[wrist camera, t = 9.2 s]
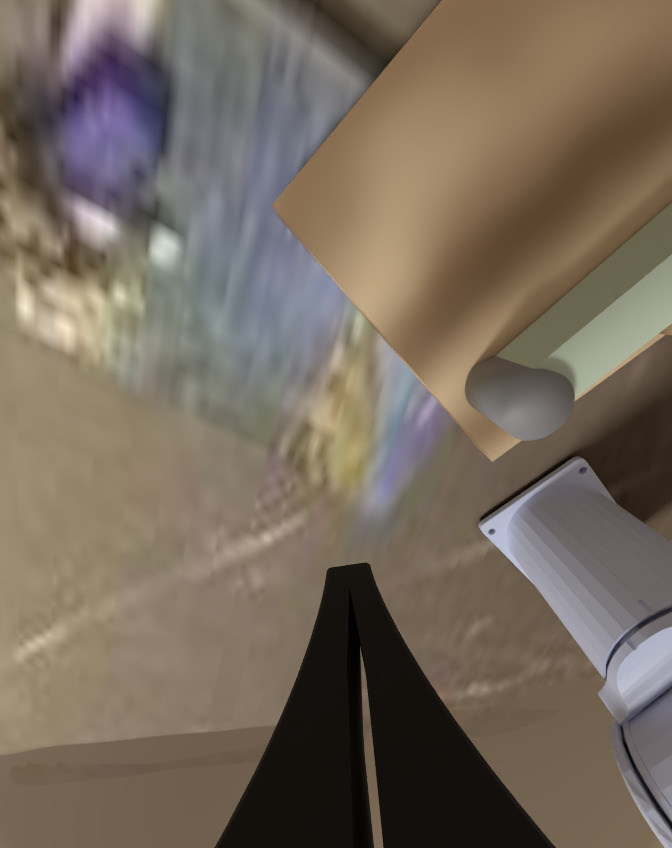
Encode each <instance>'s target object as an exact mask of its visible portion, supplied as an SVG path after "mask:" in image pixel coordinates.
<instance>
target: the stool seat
mask: <svg viewBox="0 0 672 848" xmlns="http://www.w3.org/2000/svg"><path fill="white" fill-rule="evenodd" d="M670 203H672V0H442V1H441V2H440V3H439V4H438V5H437V7H436V8H435V9H434V10H433V11H432V13H431V14H430V15H429V16H428V17H427V19H426V20H425V21H424V22H423V23H422V25H421V26H420V27H419V28H418V30H417V31H416V32H415V33H414V34H413V36H412V37H411V38H410V39H409V40H408V42H407V43H406V44H405V45H404V46H403V48H402V49H401V50H400V51H399V52H398V54H397V55H396V56H395V57H394V58H393V60H392V61H391V62H390V63H389V64H388V66H387V67H386V68H385V69H384V70H383V72H382V73H381V74H380V75H379V77H378V78H377V79H376V80H375V81H374V83H373V84H372V85H371V86H370V87H369V89H368V90H367V91H366V92H365V93H364V95H363V96H362V97H361V98H360V99H359V101H358V102H357V103H356V104H355V105H354V107H353V108H352V109H351V110H350V111H349V113H348V114H347V115H346V116H345V117H344V119H343V120H342V121H341V122H340V124H339V125H338V126H337V127H336V128H335V130H334V131H333V132H332V133H331V134H330V136H329V137H328V138H327V139H326V140H325V142H324V143H323V144H322V145H321V146H320V148H319V149H318V150H317V151H316V152H315V154H314V155H313V156H312V157H311V158H310V160H309V161H308V162H307V163H306V164H305V166H304V167H303V168H302V169H301V170H300V172H299V173H298V174H297V175H296V177H295V178H294V179H293V180H292V181H291V183H290V184H289V185H288V186H287V187H286V189H285V190H284V191H283V192H282V193H281V195H280V196H279V197H278V198H277V199H276V201H275V202H274V203H273V204H272V206H273V208H274V209H275V211H276V213H277V215H278V217H279V218H280V219H281V220H282V221H283V223H284V224H285V225H286V226H287V227H288V228H289V229H290V231H291V232H292V233H293V234H294V235H295V236H296V238H297V239H298V240H299V241H300V242H301V243H302V245H303V246H304V247H305V248H306V249H307V250H308V252H309V253H310V254H311V255H312V256H313V257H314V258H315V260H316V261H317V262H318V263H319V264H320V265H321V267H322V268H323V269H324V270H325V271H326V272H327V274H328V275H329V276H330V277H331V278H332V279H333V281H334V282H335V283H336V284H337V285H338V286H339V287H340V289H341V290H342V291H343V292H344V293H345V294H346V296H347V297H348V298H349V299H350V300H351V301H352V303H353V304H354V305H355V306H356V307H357V308H358V310H359V311H360V312H361V313H362V314H363V315H364V316H365V318H366V319H367V320H368V321H369V322H370V323H371V325H372V326H373V327H374V328H375V329H376V330H377V332H378V333H379V334H380V335H381V336H382V337H383V338H384V340H385V341H386V342H387V343H388V344H389V345H390V347H391V348H392V349H393V350H394V351H395V352H396V354H397V355H398V356H399V357H400V358H401V359H402V361H403V362H404V363H405V364H406V365H407V366H408V367H409V369H410V370H411V371H412V372H413V373H414V374H415V376H416V377H417V378H418V379H419V380H420V381H421V383H422V384H423V385H424V386H425V387H426V388H427V390H428V391H429V392H430V393H431V394H432V395H433V396H434V398H435V399H436V400H437V401H438V402H439V403H440V405H441V406H442V407H443V408H444V409H445V410H446V412H447V413H448V414H449V415H450V416H451V417H452V419H453V420H454V421H455V422H456V423H457V424H458V425H459V427H460V428H461V429H462V430H463V431H464V432H465V434H466V435H467V436H468V437H469V438H470V439H471V441H472V442H473V443H474V444H475V445H476V446H477V447H478V448H479V449H480V450H481V451H482V452H483V453H484V454H485V455H486V456H487V457H488V458H489V459H490V460H491V461H492V462H493V461H494V460H495V459H497V458H498V457H500V456H501V455H502V454H504V453H505V452H506V451H508V450H509V449H510V448H512V447H513V446H515V445H516V444H517V443H519V442H520V441H521V440H520V439H517V438H515V437H513V436H511V435H510V434H509V433H507V432H506V431H504V430H503V429H502V428H500V427H499V426H498V425H496V424H495V423H494V422H492V421H491V420H489V419H488V418H487V417H485V416H484V415H483V414H481V413H480V412H478V411H477V410H476V409H474V408H473V407H472V406H471V405H470V404H469V403H468V401H467V399H466V396H465V384H466V380H467V377H468V375H469V374H470V372H471V371H472V369H473V368H474V367H475V366H476V365H477V364H479V363H480V362H481V361H483V360H485V359H487V358H489V357H493V356H496V355H497V354H498V353H499V352H500V351H502V350H503V349H504V348H505V347H506V346H507V345H508V344H510V343H511V342H512V341H513V340H514V339H515V338H516V337H518V336H519V335H520V334H521V333H522V332H523V331H524V330H526V329H527V328H528V327H529V326H530V325H531V324H533V323H534V322H535V321H536V320H537V319H538V318H539V317H541V316H542V315H543V314H544V313H545V312H546V311H547V310H549V309H550V308H551V307H552V306H553V305H554V304H556V303H557V302H558V301H559V300H560V299H561V298H562V297H564V296H565V295H566V294H567V293H568V292H569V291H570V290H572V289H573V288H574V287H575V286H576V285H577V284H579V283H580V282H581V281H582V280H583V279H584V278H585V277H587V276H588V275H589V274H590V273H591V272H592V271H593V270H595V269H596V268H597V267H598V266H599V265H600V264H601V263H603V262H604V261H605V260H606V259H607V258H608V257H610V256H611V255H612V254H613V253H614V252H615V251H616V250H618V249H619V248H620V247H621V246H622V245H623V244H624V243H626V242H627V241H628V240H629V239H630V238H631V237H633V236H634V235H635V234H636V233H637V232H638V231H639V230H641V229H642V228H643V227H644V226H645V225H646V224H647V223H649V222H650V221H651V220H652V219H653V218H654V217H656V216H657V215H658V214H659V213H660V212H661V211H662V210H664V209H665V208H666V207H667V206H668V205H669V204H670ZM664 335H672V324H670V325H669V326H668V327H667V328H665V329H664V330H663V331H661V332H660V333H659V334H657V335H656V336H655V337H654V338H652V339H651V340H650V341H648V342H647V343H646V344H645V345H643V346H642V347H641V348H639V349H638V350H637V351H635V352H634V353H633V354H632V355H630V356H629V357H628V358H626V359H625V360H624V361H622V362H621V363H620V364H619V365H617V366H616V367H615V368H613V369H612V370H611V371H610V372H608V373H607V374H606V375H604V376H603V377H602V378H600V379H599V380H598V381H597V382H595V383H594V384H593V385H591V386H590V387H589V388H587V389H586V390H585V391H584V392H582V393H581V394H580V395H578V396H577V397H576V398H575V400H574V401H576V400H577V399H579V398H580V397H581V396H583V395H584V394H585V393H587V392H588V391H589V390H591V389H592V388H594V387H595V386H596V385H598V384H599V383H600V382H602V381H603V380H604V379H606V378H607V377H608V376H610V375H611V374H613V373H614V372H615V371H617V370H618V369H619V368H621V367H622V366H623V365H625V364H626V363H628V362H629V361H630V360H632V359H633V358H634V357H636V356H637V355H638V354H640V353H641V352H643V351H644V350H645V349H647V348H648V347H649V346H651V345H652V344H653V343H655V342H656V341H657V340H659V339H660V338H662V337H663V336H664Z"/></svg>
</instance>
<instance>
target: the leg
mask: <svg viewBox="0 0 672 848" xmlns="http://www.w3.org/2000/svg"><path fill="white" fill-rule="evenodd" d="M670 324H672V203H670V204H669V205H668V206H667V207H666V208H665V209H664V210H662V211H661V212H660V213H659V214H658V215H657V216H656V217H654V218H653V219H652V220H651V221H650V222H649V223H647V224H646V225H645V226H644V227H643V228H642V229H641V230H639V231H638V232H637V233H636V234H635V235H634V236H633V237H631V238H630V239H629V240H628V241H627V242H626V243H624V244H623V245H622V246H621V247H620V248H619V249H618V250H616V251H615V252H614V253H613V254H612V255H611V256H610V257H608V258H607V259H606V260H605V261H604V262H603V263H601V264H600V265H599V266H598V267H597V268H596V269H595V270H593V271H592V272H591V273H590V274H589V275H588V276H587V277H585V278H584V279H583V280H582V281H581V282H580V283H579V284H577V285H576V286H575V287H574V288H573V289H572V290H570V291H569V292H568V293H567V294H566V295H565V296H564V297H562V298H561V299H560V300H559V301H558V302H557V303H556V304H554V305H553V306H552V307H551V308H550V309H549V310H547V311H546V312H545V313H544V314H543V315H542V316H541V317H539V318H538V319H537V320H536V321H535V322H534V323H533V324H531V325H530V326H529V327H528V328H527V329H526V330H524V331H523V332H522V333H521V334H520V335H519V336H518V337H516V338H515V339H514V340H513V341H512V342H511V343H510V344H508V345H507V346H506V347H505V348H504V349H503V350H502V351H500V352H499V353H498V354H497V355H496V356H493V357H489V358H487V359H485V360H483V361H481V362H480V363H479V364H477V365H476V366H475V367H474V368H473V369H472V371H471V372H470V374H469V375H468V377H467V380H466V384H465V396H466V399H467V401H468V403H469V404H470V405H471V406H472V407H473V408H474V409H476V410H477V411H478V412H480V413H481V414H483V415H484V416H485V417H487V418H488V419H489V420H491V421H492V422H494V423H495V424H496V425H498V426H499V427H500V428H502V429H503V430H504V431H506V432H507V433H509V434H510V435H511V436H513V437H515V438H517V439H520V440H537V439H541V438H544V437H546V436H548V435H550V434H552V433H553V432H555V431H556V430H557V429H558V428H560V427H561V426H562V425H563V424H564V422H565V421H566V420H567V418H568V417H569V415H570V413H571V411H572V409H573V406H574V400H575V398H576V397H577V396H578V395H580V394H581V393H582V392H584V391H585V390H586V389H587V388H589V387H590V386H591V385H593V384H594V383H595V382H597V381H598V380H599V379H600V378H602V377H603V376H604V375H606V374H607V373H608V372H610V371H611V370H612V369H613V368H615V367H616V366H617V365H619V364H620V363H621V362H622V361H624V360H625V359H626V358H628V357H629V356H630V355H632V354H633V353H634V352H635V351H637V350H638V349H639V348H641V347H642V346H643V345H645V344H646V343H647V342H648V341H650V340H651V339H652V338H654V337H655V336H656V335H657V334H659V333H660V332H661V331H663V330H664V329H665V328H667V327H668V326H669V325H670Z"/></svg>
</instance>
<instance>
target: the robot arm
mask: <svg viewBox="0 0 672 848" xmlns="http://www.w3.org/2000/svg"><path fill="white" fill-rule="evenodd" d="M581 468H582V469H581ZM580 469H581V470H580ZM479 528H480V529H481V531H482V532H483V533H484V534H485V535H486V536H487V537H488V538H489V539H490V540H491V541H492V542H493V543H494V544H495V545H496V546H497V547H498V548H499V549H500V550H501V551H502V552H503V553H504V554H505V555H506V556H507V557H508V559H509V560H510V561H511V562H512V563H513V564H514V565H515V566H516V567H517V568H518V569H519V570H520V571H521V572H522V573H523V574H524V575H525V576H526V577H527V578H528V579H529V580H530V581H531V582H532V583H533V584H534V585H535V586H536V588H537V589H538V590H539V592H540V593H541V594H542V596H543V597H544V598H545V600H546V601H547V602H548V604H549V605H550V607H551V608H552V609H553V611H554V612H555V613H556V615H557V616H558V617H559V619H560V620H561V621H562V623H563V624H564V625H565V627H566V628H567V630H568V631H569V632H570V634H571V635H572V636H573V638H574V639H575V640H576V642H577V643H578V644H579V646H580V647H581V648H582V650H583V651H584V653H585V654H586V655H587V657H588V658H589V659H590V661H591V662H592V663H593V665H594V666H595V667H596V669H597V670H598V672H599V673H600V674H601V676H602V677H603V678H604V680H605V681H606V683H605V685H604V686H603V688H602V689H600V691H599V692H598V695H599V696H600V698H601V699H602V700H603V702H604V703H605V705H606V706H607V708H608V709H609V711H610V712H611V713H612V715H613V716H614V718H615V719H614V720H613V722H612V724H611V727H610V741H611V747H612V750H613V753H614V756H615V759H616V762H617V764H618V766H619V769H620V771H621V773H622V776H623V778H624V781H625V782H626V785H627V787H628V789H629V791H630V793H631V795H632V797H633V799H634V801H635V803H636V804H637V806H638V808H639V810H640V811H641V813H642V815H643V816H644V818H645V819H646V821H647V823H648V824H649V826H650V827H651V829H652V830H653V831H654V833H655V834H656V836H657V837H658V839H659V840H660V842H661V843H662V844H663V846H664V847H665V848H672V542H670V541H669V540H667V539H666V538H665V537H663V536H662V535H660V534H659V533H657V532H656V531H655V530H653V529H652V528H650V527H649V526H647V525H646V524H645V523H643V522H642V521H640V520H639V519H637V518H636V517H635V516H633V515H632V514H630V513H629V512H627V511H626V510H625V509H623V508H622V507H620V506H619V505H617V503H616V502H615V501H614V499H613V498H612V496H611V495H610V494H609V492H608V491H607V489H606V488H605V487H604V485H603V484H602V482H601V481H600V480H599V478H598V477H597V475H596V474H595V473H594V471H593V470H592V468H591V467H590V466H589V464H588V463H587V461H586V460H585V459H583V458H581V457H578V456H577V457H574V458H572V459H570V460H569V461H567V462H566V463H564V464H563V465H562V466H560V467H559V468H557V469H556V470H554V471H553V472H551V473H550V474H548V475H547V476H546V477H544V478H543V479H541V480H540V481H538V482H537V483H535V484H534V485H532V486H531V487H530V488H528V489H527V490H525V491H524V492H522V493H521V494H519V495H518V496H516V497H515V498H514V499H512V500H511V501H509V502H508V503H506V504H505V505H503V506H502V507H501V508H499V509H498V510H496V511H495V512H493V513H492V514H490V515H489V516H487V517H486V518H485V519H483V520H482V521H481V522H480V523H479ZM490 529H492V530H490ZM489 530H490V531H489ZM360 647H361V652H362V657H363V662H364V667H365V672H366V680H367V689H368V698H369V708H370V717H371V727H372V737H373V746H374V756H375V766H376V776H377V786H378V796H379V806H380V816H381V826H382V836H383V847H384V848H556V847H555V846H554V845H553V844H552V843H551V842H550V840H549V839H548V838H547V837H546V836H545V834H544V833H543V832H542V831H541V830H540V828H539V827H538V826H537V825H536V824H535V822H534V821H533V820H532V819H531V817H530V816H529V815H528V814H527V813H526V811H525V810H524V809H523V808H522V807H521V805H520V804H519V803H518V802H517V801H516V799H515V798H514V797H513V795H512V794H511V793H510V791H509V790H508V789H507V788H506V786H505V785H504V784H503V783H502V782H501V780H500V779H499V778H498V776H497V775H496V774H495V773H494V771H493V770H492V769H491V767H490V766H489V765H488V763H487V762H486V761H485V760H484V758H483V757H482V755H481V754H480V753H479V751H478V750H477V749H476V747H475V746H474V745H473V743H472V742H471V741H470V739H469V738H468V737H467V735H466V734H465V733H464V731H463V730H462V729H461V727H460V726H459V725H458V723H457V722H456V721H455V719H454V718H453V716H452V715H451V713H450V712H449V710H448V709H447V707H446V706H445V705H444V703H443V702H442V700H441V699H440V697H439V696H438V694H437V693H436V691H435V690H434V688H433V687H432V685H431V684H430V682H429V681H428V679H427V678H426V676H425V675H424V673H423V671H422V670H421V668H420V667H419V665H418V663H417V662H416V660H415V658H414V657H413V655H412V653H411V652H410V650H409V648H408V647H407V645H406V643H405V641H404V640H403V638H402V636H401V634H400V633H399V631H398V629H397V627H396V625H395V623H394V621H393V619H392V617H391V615H390V613H389V612H388V610H387V608H386V605H385V603H384V601H383V599H382V597H381V594H380V592H379V590H378V587H377V585H376V582H375V580H374V577H373V574H372V571H371V567H370V564H368V563H360V564H353V565H346V566H339V567H332V568H329V569H328V570H327V574H326V581H325V587H324V591H323V596H322V600H321V604H320V608H319V612H318V615H317V619H316V622H315V626H314V629H313V632H312V636H311V639H310V642H309V645H308V648H307V650H306V653H305V656H304V659H303V662H302V665H301V668H300V670H299V673H298V676H297V678H296V681H295V683H294V686H293V689H292V691H291V694H290V696H289V698H288V701H287V703H286V705H285V708H284V710H283V713H282V715H281V717H280V719H279V722H278V724H277V726H276V728H275V730H274V733H273V735H272V737H271V739H270V741H269V744H268V746H267V748H266V750H265V752H264V754H263V756H262V758H261V760H260V763H259V765H258V767H257V769H256V771H255V773H254V775H253V777H252V779H251V781H250V782H249V784H248V786H247V788H246V790H245V792H244V794H243V796H242V798H241V800H240V802H239V804H238V805H237V807H236V809H235V811H234V813H233V815H232V817H231V819H230V821H229V823H228V825H227V826H226V828H225V830H224V832H223V834H222V836H221V838H220V839H219V841H218V843H217V845H216V846H215V848H374V844H373V843H374V842H373V833H372V824H371V813H370V805H369V794H368V784H367V774H366V765H365V754H364V738H363V715H362V687H361V659H360Z"/></svg>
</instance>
